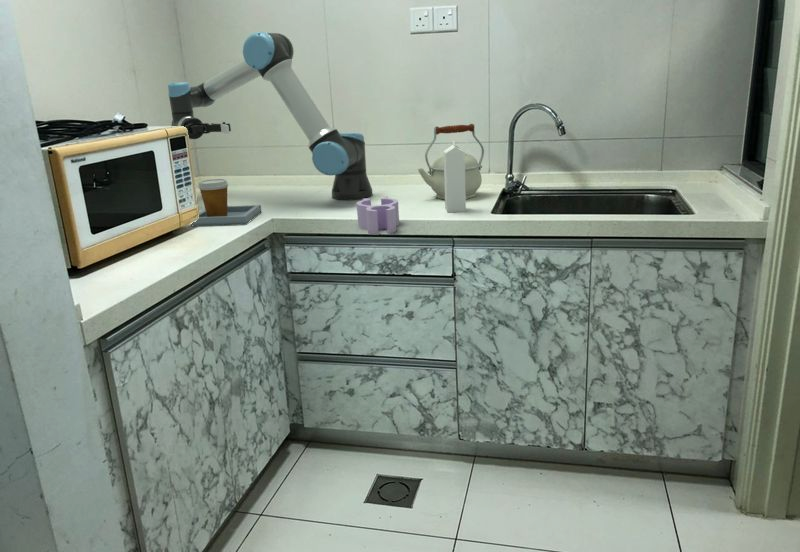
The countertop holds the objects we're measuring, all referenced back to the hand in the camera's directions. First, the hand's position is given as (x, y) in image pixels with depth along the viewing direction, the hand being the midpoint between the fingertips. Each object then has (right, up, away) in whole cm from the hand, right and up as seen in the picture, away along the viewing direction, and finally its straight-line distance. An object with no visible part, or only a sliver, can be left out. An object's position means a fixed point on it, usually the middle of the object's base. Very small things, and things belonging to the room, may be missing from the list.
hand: (207, 131), depth 216 cm
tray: (+6, -29, +1) cm, 30 cm away
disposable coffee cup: (+3, -29, 0) cm, 29 cm away
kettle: (+82, -20, +18) cm, 86 cm away
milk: (+81, -27, -3) cm, 86 cm away
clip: (+57, -33, -19) cm, 69 cm away
